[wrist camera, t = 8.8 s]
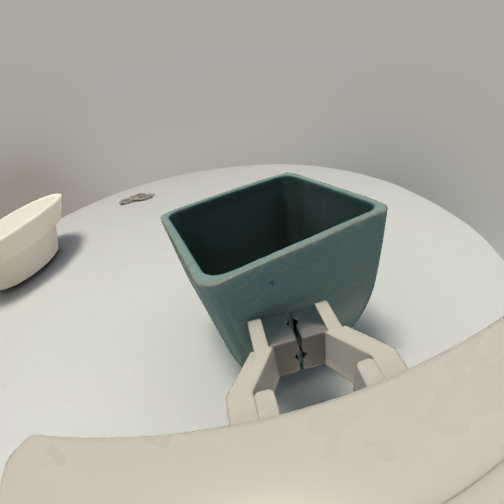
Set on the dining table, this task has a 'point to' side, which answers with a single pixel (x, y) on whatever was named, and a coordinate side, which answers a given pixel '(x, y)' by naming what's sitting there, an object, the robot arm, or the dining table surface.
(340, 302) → the flower pot
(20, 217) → the bowl
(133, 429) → the dining table surface
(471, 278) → the dining table surface
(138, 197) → the charm
